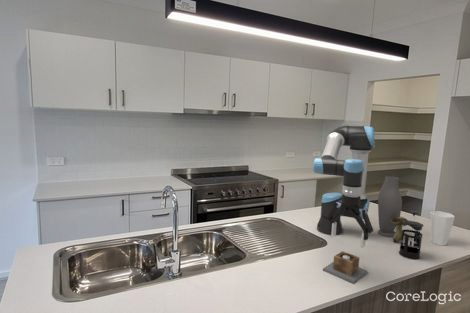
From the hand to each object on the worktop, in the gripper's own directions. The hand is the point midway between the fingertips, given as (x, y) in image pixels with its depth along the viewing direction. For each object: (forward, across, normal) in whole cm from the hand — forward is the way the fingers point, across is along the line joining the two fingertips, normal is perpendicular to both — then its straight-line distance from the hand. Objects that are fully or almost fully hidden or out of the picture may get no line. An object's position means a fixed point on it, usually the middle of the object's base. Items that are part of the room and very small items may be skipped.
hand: (347, 241), depth 129 cm
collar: (+13, 0, -1) cm, 13 cm away
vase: (+16, -5, +62) cm, 64 cm away
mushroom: (+15, +4, +53) cm, 56 cm away
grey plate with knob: (+14, 0, -1) cm, 14 cm away
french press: (+15, +14, +41) cm, 46 cm away
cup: (+16, +20, +71) cm, 76 cm away
